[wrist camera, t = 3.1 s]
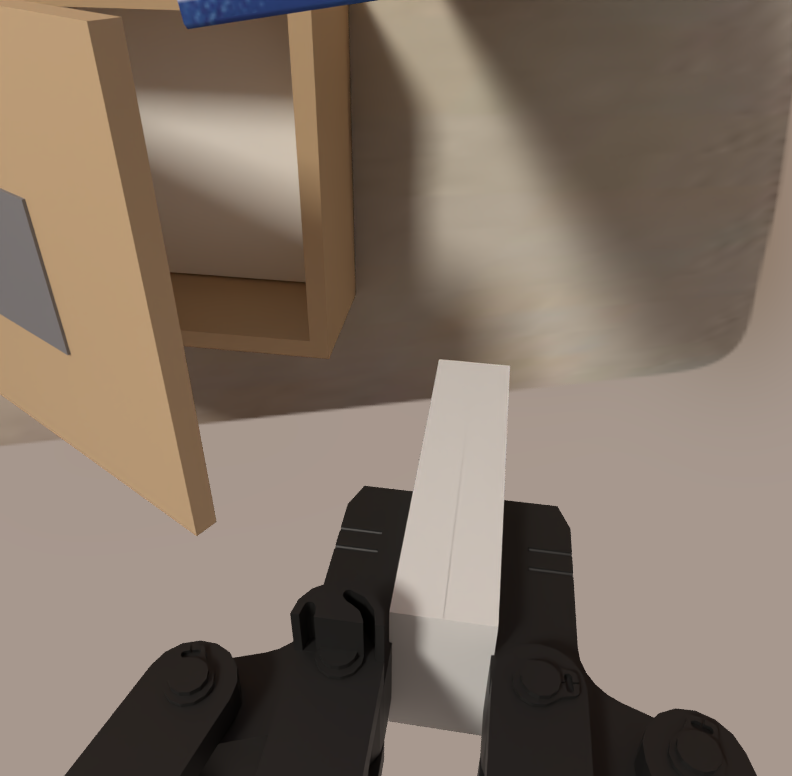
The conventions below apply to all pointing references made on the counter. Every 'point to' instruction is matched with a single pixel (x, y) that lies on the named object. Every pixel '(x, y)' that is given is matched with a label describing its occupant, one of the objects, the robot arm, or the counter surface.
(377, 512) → the robot arm
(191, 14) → the beverage box
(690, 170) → the counter surface
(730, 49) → the counter surface
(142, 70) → the base
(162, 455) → the mailer lid
